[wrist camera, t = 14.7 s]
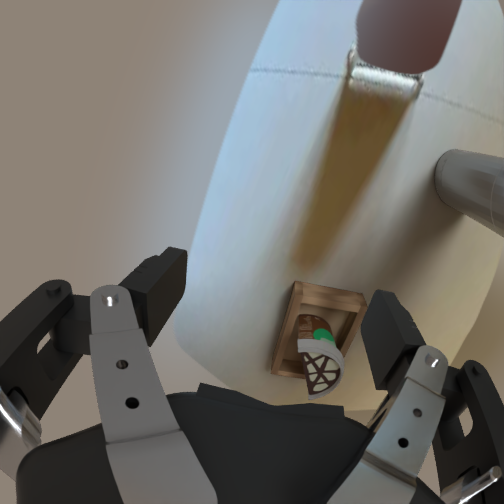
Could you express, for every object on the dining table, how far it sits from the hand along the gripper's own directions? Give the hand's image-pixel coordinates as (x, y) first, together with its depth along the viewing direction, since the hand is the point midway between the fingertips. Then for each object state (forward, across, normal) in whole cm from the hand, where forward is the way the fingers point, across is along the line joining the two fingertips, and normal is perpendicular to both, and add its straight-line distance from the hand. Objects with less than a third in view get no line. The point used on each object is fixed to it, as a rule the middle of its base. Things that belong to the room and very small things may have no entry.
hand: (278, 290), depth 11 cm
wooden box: (+28, -10, +23) cm, 38 cm away
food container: (+28, -11, +23) cm, 37 cm away
